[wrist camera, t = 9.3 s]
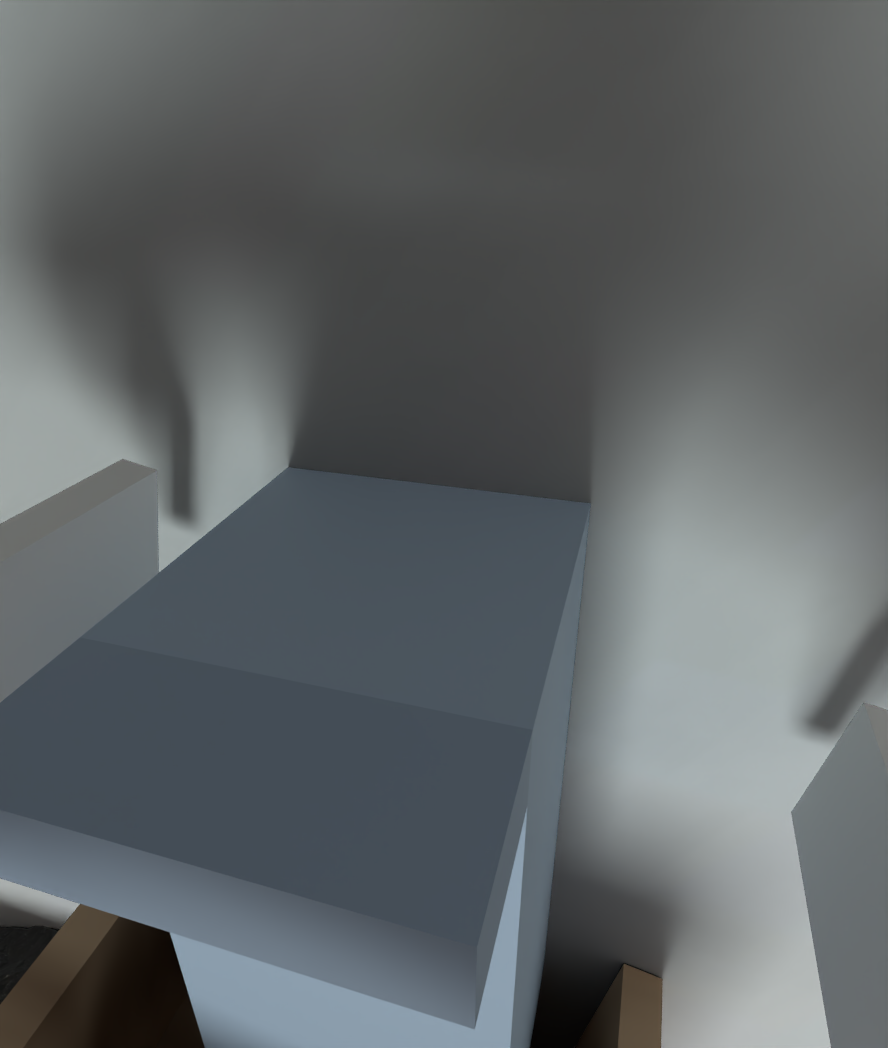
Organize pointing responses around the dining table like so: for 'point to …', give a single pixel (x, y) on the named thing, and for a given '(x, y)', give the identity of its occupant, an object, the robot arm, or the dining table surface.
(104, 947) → the open wooden crate
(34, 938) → the rock
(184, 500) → the dining table surface
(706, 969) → the dining table surface
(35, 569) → the robot arm
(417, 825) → the lidded box
